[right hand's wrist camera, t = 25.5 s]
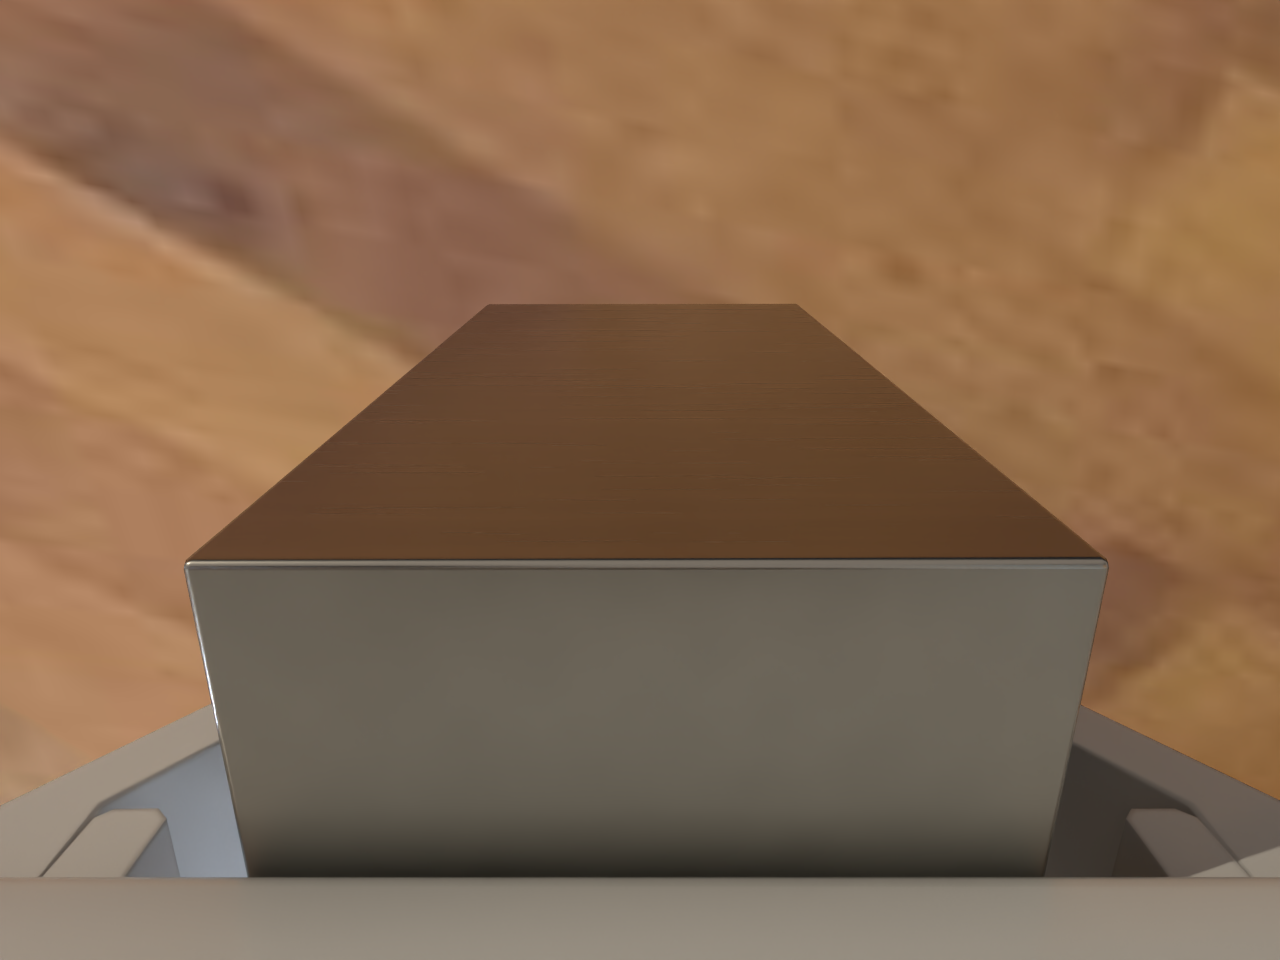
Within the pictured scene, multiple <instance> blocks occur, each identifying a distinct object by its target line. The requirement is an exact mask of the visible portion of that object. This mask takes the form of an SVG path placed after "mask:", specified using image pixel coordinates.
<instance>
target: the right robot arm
mask: <svg viewBox="0 0 1280 960" xmlns="http://www.w3.org/2000/svg"><path fill="white" fill-rule="evenodd" d="M0 960H1280V800H1277V799H1275V798H1273V797H1271V796H1269V795H1267V794H1265V793H1263V792H1261V791H1259V790H1257V789H1255V788H1253V787H1250V786H1248V785H1246V784H1244V783H1242V782H1240V781H1238V780H1236V779H1234V778H1232V777H1230V776H1228V775H1225V774H1223V773H1221V772H1219V771H1217V770H1215V769H1213V768H1211V767H1209V766H1207V765H1205V764H1203V763H1200V762H1198V761H1196V760H1194V759H1192V758H1190V757H1188V756H1186V755H1184V754H1182V753H1180V752H1178V751H1176V750H1173V749H1171V748H1169V747H1167V746H1165V745H1163V744H1161V743H1159V742H1157V741H1155V740H1153V739H1151V738H1148V737H1146V736H1144V735H1142V734H1140V733H1138V732H1136V731H1134V730H1132V729H1130V728H1128V727H1126V726H1123V725H1121V724H1119V723H1117V722H1115V721H1113V720H1111V719H1109V718H1107V717H1105V716H1103V715H1101V714H1099V713H1096V712H1094V711H1092V710H1090V709H1088V708H1086V707H1084V706H1082V705H1080V709H1079V713H1078V718H1077V723H1076V728H1075V733H1074V737H1073V742H1072V747H1071V752H1070V757H1069V761H1068V766H1067V771H1066V776H1065V780H1064V785H1063V790H1062V795H1061V800H1060V804H1059V809H1058V814H1057V819H1056V824H1055V828H1054V833H1053V838H1052V843H1051V848H1050V852H1049V857H1048V862H1047V867H1046V871H1045V876H1044V877H247V872H246V867H245V863H244V858H243V853H242V848H241V843H240V838H239V834H238V829H237V824H236V819H235V814H234V809H233V805H232V800H231V795H230V790H229V785H228V780H227V776H226V771H225V766H224V761H223V756H222V751H221V747H220V742H219V737H218V732H217V727H216V722H215V718H214V713H213V708H212V704H210V705H208V706H205V707H203V708H201V709H199V710H197V711H195V712H193V713H191V714H189V715H187V716H185V717H183V718H181V719H179V720H176V721H174V722H172V723H170V724H168V725H166V726H164V727H162V728H160V729H158V730H156V731H154V732H152V733H150V734H148V735H145V736H143V737H141V738H139V739H137V740H135V741H133V742H131V743H129V744H127V745H125V746H123V747H121V748H119V749H117V750H114V751H112V752H110V753H108V754H106V755H104V756H102V757H100V758H98V759H96V760H94V761H92V762H90V763H88V764H86V765H83V766H81V767H79V768H77V769H75V770H73V771H71V772H69V773H67V774H65V775H63V776H61V777H59V778H57V779H55V780H52V781H50V782H48V783H46V784H44V785H42V786H40V787H38V788H36V789H34V790H32V791H30V792H28V793H26V794H24V795H21V796H19V797H17V798H15V799H13V800H11V801H9V802H7V803H5V804H3V805H1V806H0Z"/></svg>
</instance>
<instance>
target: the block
mask: <svg viewBox="0 0 1280 960" xmlns="http://www.w3.org/2000/svg"><path fill="white" fill-rule="evenodd" d="M1108 570H1109V567H1108V562H1107V559H1106V558H1105V557H1104V556H1102V555H1101V554H1100V553H1099V552H1098V551H1096V550H1095V549H1094V548H1093V547H1091V546H1090V545H1089V544H1088V543H1087V542H1085V541H1084V540H1083V539H1082V538H1081V537H1079V536H1078V535H1077V534H1076V533H1074V532H1073V531H1072V530H1071V529H1070V528H1068V527H1067V526H1066V525H1065V524H1063V523H1062V522H1061V521H1060V520H1059V519H1057V518H1056V517H1055V516H1054V515H1053V514H1051V513H1050V512H1049V511H1048V510H1046V509H1045V508H1044V507H1043V506H1042V505H1040V504H1039V503H1038V502H1037V501H1036V500H1034V499H1033V498H1032V497H1031V496H1029V495H1028V494H1027V493H1026V492H1025V491H1023V490H1022V489H1021V488H1020V487H1019V486H1017V485H1016V484H1015V483H1014V482H1012V481H1011V480H1010V479H1009V478H1008V477H1006V476H1005V475H1004V474H1003V473H1002V472H1000V471H999V470H998V469H997V468H995V467H994V466H993V465H992V464H991V463H989V462H988V461H987V460H986V459H985V458H983V457H982V456H981V455H980V454H978V453H977V452H976V451H975V450H974V449H972V448H971V447H970V446H969V445H968V444H966V443H965V442H964V441H963V440H961V439H960V438H959V437H958V436H957V435H955V434H954V433H953V432H952V431H950V430H949V429H948V428H947V427H946V426H944V425H943V424H942V423H941V422H940V421H938V420H937V419H936V418H935V417H933V416H932V415H931V414H930V413H929V412H927V411H926V410H925V409H924V408H923V407H921V406H920V405H919V404H918V403H916V402H915V401H914V400H913V399H912V398H910V397H909V396H908V395H907V394H906V393H904V392H903V391H902V390H901V389H899V388H898V387H897V386H896V385H895V384H893V383H892V382H891V381H890V380H889V379H887V378H886V377H885V376H884V375H882V374H881V373H880V372H879V371H878V370H876V369H875V368H874V367H873V366H872V365H870V364H869V363H868V362H867V361H865V360H864V359H863V358H862V357H861V356H859V355H858V354H857V353H856V352H855V351H853V350H852V349H851V348H850V347H848V346H847V345H846V344H845V343H844V342H842V341H841V340H840V339H839V338H837V337H836V336H835V335H834V334H833V333H831V332H830V331H829V330H828V329H827V328H825V327H824V326H823V325H822V324H820V323H819V322H818V321H817V320H816V319H814V318H813V317H812V316H811V315H810V314H808V313H807V312H806V311H805V310H803V309H802V308H801V307H800V306H799V305H797V304H489V305H487V306H486V307H484V308H483V309H482V310H481V311H480V312H478V313H477V314H476V315H475V316H474V317H473V318H471V319H470V320H469V321H468V322H467V323H465V324H464V325H463V326H462V327H461V328H460V329H458V330H457V331H456V332H455V333H454V334H453V335H451V336H450V337H449V338H448V339H447V340H445V341H444V342H443V343H442V344H441V345H440V346H438V347H437V348H436V349H435V350H434V351H432V352H431V353H430V354H429V355H428V356H427V357H425V358H424V359H423V360H422V361H421V362H419V363H418V364H417V365H416V366H415V367H414V368H412V369H411V370H410V371H409V372H408V373H406V374H405V375H404V376H403V377H402V378H401V379H399V380H398V381H397V382H396V383H395V384H393V385H392V386H391V387H390V388H389V389H388V390H386V391H385V392H384V393H383V394H382V395H380V396H379V397H378V398H377V399H376V400H375V401H373V402H372V403H371V404H370V405H369V406H367V407H366V408H365V409H364V410H363V411H362V412H360V413H359V414H358V415H357V416H356V417H354V418H353V419H352V420H351V421H350V422H349V423H347V424H346V425H345V426H344V427H343V428H341V429H340V430H339V431H338V432H337V433H336V434H334V435H333V436H332V437H331V438H330V439H328V440H327V441H326V442H325V443H324V444H323V445H321V446H320V447H319V448H318V449H317V450H315V451H314V452H313V453H312V454H311V455H310V456H308V457H307V458H306V459H305V460H304V461H303V462H301V463H300V464H299V465H298V466H297V467H295V468H294V469H293V470H292V471H291V472H290V473H288V474H287V475H286V476H285V477H284V478H282V479H281V480H280V481H279V482H278V483H277V484H275V485H274V486H273V487H272V488H271V489H269V490H268V491H267V492H266V493H265V494H264V495H262V496H261V497H260V498H259V499H258V500H256V501H255V502H254V503H253V504H252V505H251V506H249V507H248V508H247V509H246V510H245V511H243V512H242V513H241V514H240V515H239V516H238V517H236V518H235V519H234V520H233V521H232V522H230V523H229V524H228V525H227V526H226V527H225V528H223V529H222V530H221V531H220V532H219V533H217V534H216V535H215V536H214V537H213V538H212V539H210V540H209V541H208V542H207V543H206V544H204V545H203V546H202V547H201V548H200V549H199V550H197V551H196V552H195V553H194V554H193V555H191V556H190V557H189V558H188V559H187V560H186V562H185V565H184V573H185V577H186V582H187V587H188V592H189V597H190V602H191V606H192V611H193V616H194V621H195V626H196V631H197V635H198V640H199V645H200V650H201V655H202V660H203V664H204V669H205V674H206V679H207V684H208V689H209V693H210V698H211V703H212V708H213V713H214V718H215V722H216V727H217V732H218V737H219V742H220V747H221V751H222V756H223V761H224V766H225V771H226V776H227V780H228V785H229V790H230V795H231V800H232V805H233V809H234V814H235V819H236V824H237V829H238V834H239V838H240V843H241V848H242V853H243V858H244V863H245V867H246V872H247V877H1044V876H1045V871H1046V867H1047V862H1048V857H1049V852H1050V848H1051V843H1052V838H1053V833H1054V828H1055V824H1056V819H1057V814H1058V809H1059V804H1060V800H1061V795H1062V790H1063V785H1064V780H1065V776H1066V771H1067V766H1068V761H1069V757H1070V752H1071V747H1072V742H1073V737H1074V733H1075V728H1076V723H1077V718H1078V713H1079V709H1080V704H1081V699H1082V694H1083V689H1084V685H1085V680H1086V675H1087V670H1088V666H1089V661H1090V656H1091V651H1092V646H1093V642H1094V637H1095V632H1096V627H1097V622H1098V618H1099V613H1100V608H1101V603H1102V599H1103V594H1104V589H1105V584H1106V579H1107V575H1108Z"/></svg>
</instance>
